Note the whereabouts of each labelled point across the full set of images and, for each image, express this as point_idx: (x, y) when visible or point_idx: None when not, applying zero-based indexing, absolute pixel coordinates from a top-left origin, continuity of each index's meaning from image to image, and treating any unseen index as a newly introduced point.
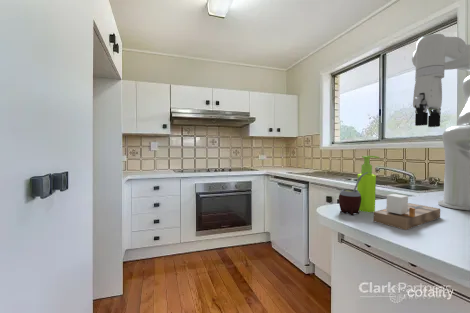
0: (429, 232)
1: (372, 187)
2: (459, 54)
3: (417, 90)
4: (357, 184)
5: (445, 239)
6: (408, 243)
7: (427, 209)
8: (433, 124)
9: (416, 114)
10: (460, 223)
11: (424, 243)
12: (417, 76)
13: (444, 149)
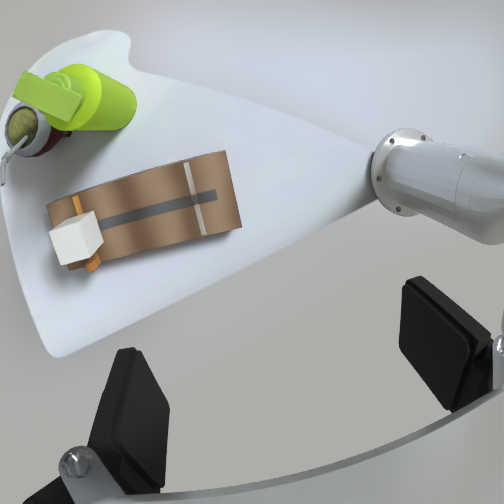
0: (108, 282)
1: (84, 130)
2: None
3: None
4: (13, 153)
5: (104, 311)
6: (39, 303)
7: (197, 223)
8: (410, 326)
9: (96, 437)
10: (234, 264)
11: (60, 311)
12: None
13: None
